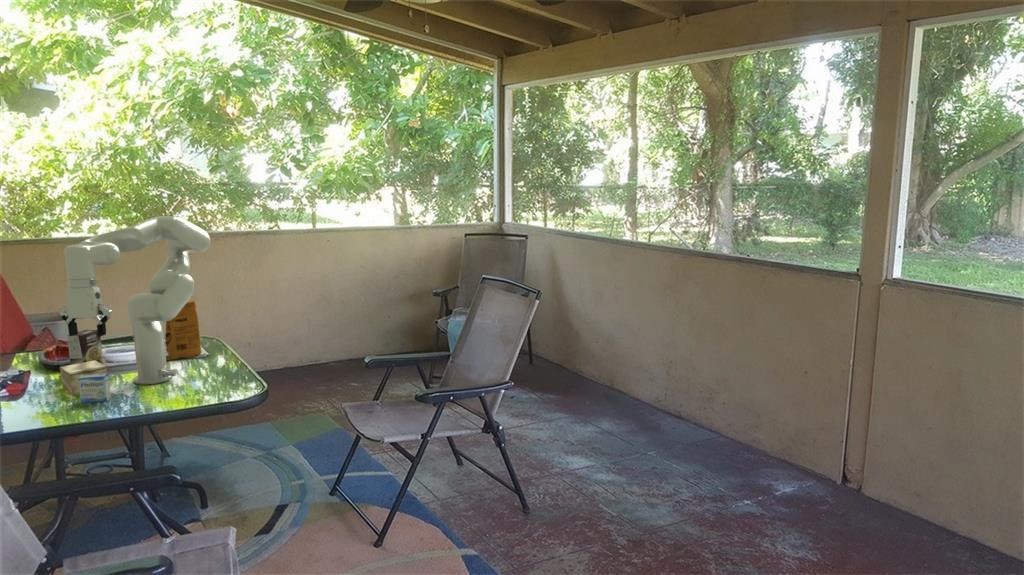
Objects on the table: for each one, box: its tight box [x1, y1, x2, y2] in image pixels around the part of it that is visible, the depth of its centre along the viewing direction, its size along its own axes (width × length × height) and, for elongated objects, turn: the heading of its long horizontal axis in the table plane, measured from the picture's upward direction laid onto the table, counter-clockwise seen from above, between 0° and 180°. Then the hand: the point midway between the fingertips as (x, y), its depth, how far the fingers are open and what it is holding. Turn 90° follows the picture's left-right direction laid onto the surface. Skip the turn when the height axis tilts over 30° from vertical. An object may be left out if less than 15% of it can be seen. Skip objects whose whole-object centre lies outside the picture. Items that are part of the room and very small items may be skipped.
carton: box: [59, 368, 108, 397], centre depth 244 cm, size 11×12×7 cm
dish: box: [37, 344, 70, 371], centre depth 275 cm, size 16×31×5 cm, turn 35°
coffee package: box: [164, 299, 202, 360], centre depth 283 cm, size 10×12×22 cm
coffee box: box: [66, 329, 105, 365], centre depth 259 cm, size 9×6×16 cm
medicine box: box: [78, 372, 112, 404], centre depth 231 cm, size 8×4×9 cm, turn 105°
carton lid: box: [60, 361, 107, 375], centre depth 243 cm, size 11×12×1 cm
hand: (87, 335), depth 228 cm, fingers open, 9 cm apart
